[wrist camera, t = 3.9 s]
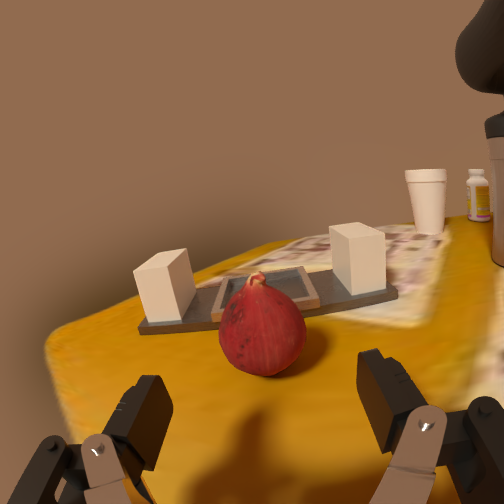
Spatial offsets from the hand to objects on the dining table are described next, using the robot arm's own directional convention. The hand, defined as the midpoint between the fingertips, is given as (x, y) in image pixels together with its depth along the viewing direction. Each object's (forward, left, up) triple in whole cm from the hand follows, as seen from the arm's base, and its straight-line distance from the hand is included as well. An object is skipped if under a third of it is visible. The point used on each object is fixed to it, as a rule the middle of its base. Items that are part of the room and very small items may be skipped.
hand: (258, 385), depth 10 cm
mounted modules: (-12, -17, -6) cm, 22 cm away
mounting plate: (-12, -17, -6) cm, 22 cm away
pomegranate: (-5, -7, -6) cm, 10 cm away
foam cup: (-53, -13, -6) cm, 55 cm away
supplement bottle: (-71, -4, -6) cm, 71 cm away
